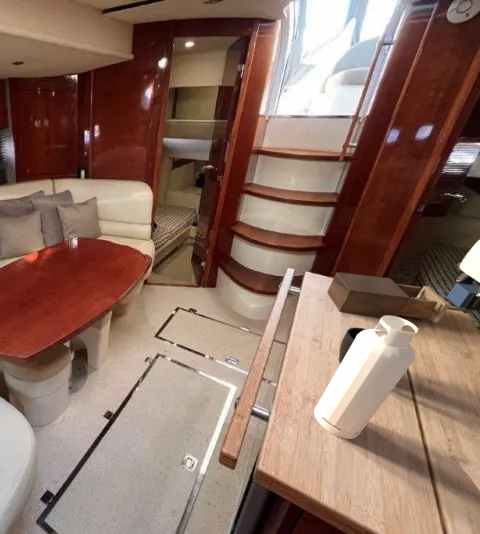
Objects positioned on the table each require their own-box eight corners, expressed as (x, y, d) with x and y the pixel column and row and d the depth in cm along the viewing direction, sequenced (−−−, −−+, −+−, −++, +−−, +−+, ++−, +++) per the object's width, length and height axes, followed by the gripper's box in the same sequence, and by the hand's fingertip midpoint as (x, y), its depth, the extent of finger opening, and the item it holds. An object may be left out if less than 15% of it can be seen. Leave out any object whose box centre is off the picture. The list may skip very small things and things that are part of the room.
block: (468, 299, 77) (479, 285, 75) (481, 310, 73) (493, 295, 71) (446, 297, 78) (456, 283, 76) (458, 307, 75) (469, 292, 72)
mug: (348, 385, 75) (365, 358, 71) (327, 351, 85) (341, 325, 81) (387, 392, 73) (408, 364, 69) (361, 356, 83) (378, 329, 79)
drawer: (443, 306, 100) (455, 289, 96) (466, 327, 91) (480, 309, 88) (366, 296, 106) (375, 279, 102) (381, 314, 97) (392, 297, 94)
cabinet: (378, 299, 105) (390, 278, 101) (396, 320, 96) (410, 298, 92) (327, 292, 110) (336, 271, 105) (339, 311, 100) (350, 290, 96)
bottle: (367, 443, 63) (445, 343, 49) (322, 433, 65) (385, 335, 51) (348, 409, 70) (412, 313, 56) (308, 401, 72) (360, 307, 58)
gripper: (578, 255, 59) (513, 327, 68) (504, 223, 73) (458, 287, 82) (525, 251, 61) (470, 321, 70) (463, 221, 75) (423, 283, 84)
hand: (464, 302), depth 76 cm, fingers closed on block, 4 cm apart
